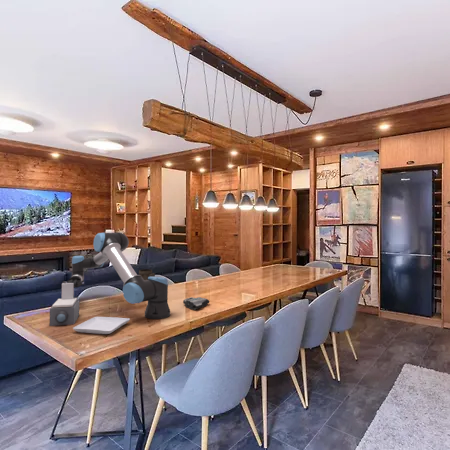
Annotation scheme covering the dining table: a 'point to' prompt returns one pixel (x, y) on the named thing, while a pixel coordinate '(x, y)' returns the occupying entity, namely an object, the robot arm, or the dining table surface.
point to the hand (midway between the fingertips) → (68, 287)
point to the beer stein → (146, 273)
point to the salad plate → (101, 325)
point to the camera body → (64, 315)
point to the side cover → (66, 296)
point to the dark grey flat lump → (195, 302)
